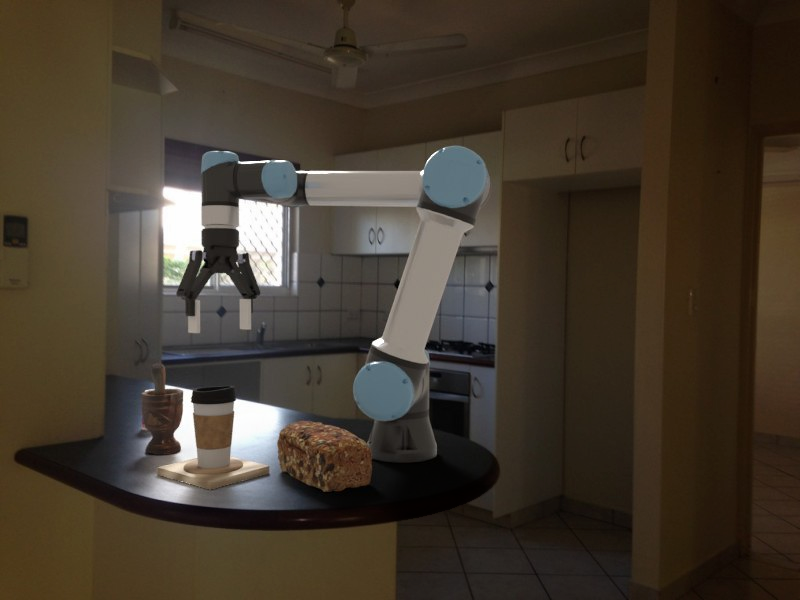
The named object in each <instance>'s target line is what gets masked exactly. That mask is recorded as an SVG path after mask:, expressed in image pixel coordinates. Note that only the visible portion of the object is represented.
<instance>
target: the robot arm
mask: <svg viewBox="0 0 800 600" xmlns="http://www.w3.org/2000/svg"><path fill="white" fill-rule="evenodd" d="M201 157H202V158H201V168H200V169H201V170H200V171H201V172H200V179H201V182H200V183H201V213H200V214H201V215H200V216H201V226H202V227H204V228H202V230H201V231H200V232H201V246H202V247H203V251H202V249H200V250H199V249H198V250H197V249H196V250H190V252H189V260H188V262H187V266H186V269H185V271H184V273H183V276H182V278H181V280H180V283H179V285H178V288H177V290H176V296H177V297H178V298H179V297H180V299H182V301H185V302H184V303H185V315H186V317H187V328H188V329H187V333H188V334H189V333H190V334H201V300H200V299H198V297H199V295H200V294H201V292H202V291H203V290H204V287H206V285H207V283H209V280H210V279H211V277H212V276H213V275H216V274H225V275H226V276H228V277H229V278H230V280H231V281H232V282H233V283H232V284H234V286H235V287H236V289H237V291H238V292H239V294H240V295H241V297H242V298H239V330H248V331H249V330H250V331H252V314H253V312H254V306H253V305H254V302H253V300H255V299H257V297H258V296H260V295H261V290H260V287H259V285H258V282H257V279H256V276H255V274H254V271H253V268H252V266H251V261H250V253H249V252H238V250H237V249H238V247H239V245H240V231H239V230H238V229H237V228H238V227H239V226H240V205H239V204H240V200H247V199H248V200H249V199H254V200H257V199H259V200H260V199H261V200H263V199H264V200H266V201H270V202H274V203H276V204H279V205H282V206H285V207H288V208H300V207H305V206H306V207H308V206H318V207H319V206H321V207H323V206H326V207H327V206H328V207H329V206H330V207H331V206H332V207H335V206H336V207H337V206H338V207H351V206H352V207H392V208H393V207H397V208H400V207H401V208H404V207H406V208H408V207H409V208H415V209H416V212H417V214H418V216H419V218H420V221H419V223H418V226H417V227H418V228H417V230H416V233H415V237H414V240H413V242H412V246H411V249H410V251H409V254H408V258H407V260H406V264H405V267H404V270H403V272H402V276H401V279H400V282H399V285H398V288H397V289H396V290H397V291H396V293H395V296H394V301H393V303H392V305H391V309H390V312H389V315H388V318H387V321H386V324H385V328H384V329H383V333H382V336H381V337H379V338H377V339H375V340H373V341H372V343H371V345H370V348H369V351H368V354H367V357H366V359H365V364H364V365H363V366H362V367H361V369H359V371H358V373H357V374H356V376H355V378H354V382H353V386H352V392H353V399H354V401H355V404H356V405H357V406H358V408H359V410H360V411H361V412H362V413H363V414H365V415H366V416H367V417H369V418H370V419H373V420H374V421H373V423H372V424H373V425H372V428H371V431H370V433H369V437H368V440H367V442H366V444H367V445H368V447H369V448H370V450H371V452H372V460H375V461H376V460H377V461H381V462H387V463H406V464H407V463H420V462H425V461H429V460H432V459H435V458H436V457H437V455H438V453H437V451H438V449H437V448H438V447H437V442H436V439H435V434H434V431H433V428H432V424H431V421H430V366H431V361H430V354H429V351H427V349H425V348H426V345H427V343H428V341H429V340H428V339H429V336H430V333H431V331H432V327H433V325H434V322H435V319H436V315H437V312H438V309H439V306H440V304H441V300H442V297H443V295H444V292H445V288H446V286H447V282H448V280H449V278H450V277H449V276H450V274H451V270H452V268H453V264H454V262H455V259H456V255H457V253H458V250H459V246H460V245H461V244H460V243H461V241H462V239H463V236H464V234H465V233H466V232H467V231H470V230H472V229H474V228H475V224H476V221H477V217H478V215H479V212H480V210H481V209H482V208H483V207H484V206H485V205H486V204H487V202H488V201H489V198H490V195H491V193H492V185H493V184H492V178H491V175H490V173H489V171H488V169H487V166H486V163H485V161H484V160H483V158H482V157H481V156H480V155H479V154H478V153H476V152H475V151H474V150H471V149H470V148H467V147H466V146H461V145H451V146H445V147H443V148H440V149H439V150H436V152H434V153H433V154H432V155H431V156H430V157H429V158H428V160H427V161H426V163H425V165H424V168H423V169H422V170H309V171H308V170H306V171H305V170H297V169H296V168H295V167H294V164H293V163H292V162H290V161H289V160H278V159H271V160H260V161H259V160H258V161H256V160H255V161H240V159H239V158H240V157H239V156H238V154H237V153H235V152H232V151H225V150H224V151H220V150H212V151H207V152H205V153H203V155H202V156H201ZM202 262H204V263H203V265H202Z"/></svg>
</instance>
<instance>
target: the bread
mask: <svg viewBox="0 0 800 600" xmlns="http://www.w3.org/2000/svg"><path fill="white" fill-rule="evenodd" d="M278 435H279V436H278V439H277V443H276V444H277V454H278V456H277V459H278V460H279V466H280V469H281V471H282V473H288V475H290V477H292V478H294V479H296V480H298V481H300V482H302V483H304V484H305V485H308V487H314V488H317V489H320V490H322V491H323V492H324V493H326V492H330V493H332V492H333V491H334V492H341V491H343V490H345V489H346V488H347V489H348V488H360V487H365V486H368V485H370V482H371V477H372V471H373V465H372V460H373V458H372V452H371V450H370V448H369V447H368V445H367V442H366V441H365V440H364V439H361V438H359V437H358V436H357V435H355V434H353V433H352V432H350V431H349V430H346V429H344V428H340V427H339V426H335V425H331V424H323V423H322V422H320V421H317V422H315V421H311V420H306V421H305V420H301V421H300V420H299V421H297V422H292V423H289V424H287V425H285V427H283V428H282V429H281V430H280V432H279V434H278Z"/></svg>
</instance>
